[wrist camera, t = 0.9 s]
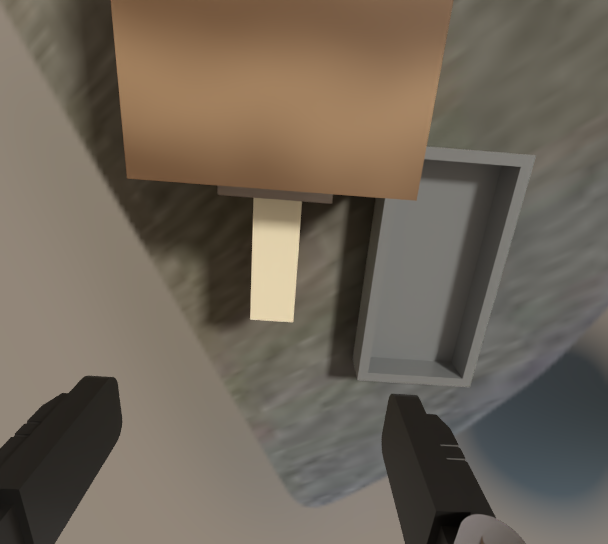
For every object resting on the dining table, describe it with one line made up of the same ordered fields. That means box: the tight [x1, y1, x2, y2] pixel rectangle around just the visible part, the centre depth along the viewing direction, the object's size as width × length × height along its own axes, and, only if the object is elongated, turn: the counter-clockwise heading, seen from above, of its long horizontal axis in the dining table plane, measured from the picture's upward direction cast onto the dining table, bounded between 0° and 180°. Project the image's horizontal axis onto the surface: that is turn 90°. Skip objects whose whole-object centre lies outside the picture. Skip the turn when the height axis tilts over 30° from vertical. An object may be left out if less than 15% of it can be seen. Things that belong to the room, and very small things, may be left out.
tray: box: [353, 147, 536, 387], centre depth 25 cm, size 16×8×3 cm, turn 176°
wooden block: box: [111, 0, 453, 204], centre depth 17 cm, size 15×12×10 cm
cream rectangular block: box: [250, 198, 302, 322], centre depth 22 cm, size 12×3×6 cm, turn 176°
